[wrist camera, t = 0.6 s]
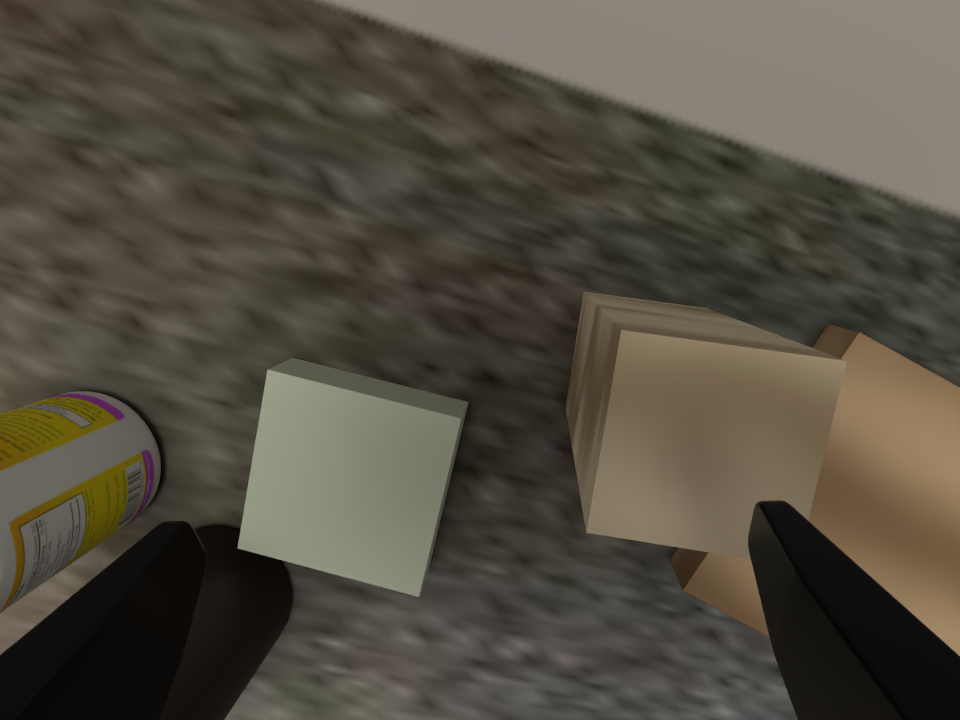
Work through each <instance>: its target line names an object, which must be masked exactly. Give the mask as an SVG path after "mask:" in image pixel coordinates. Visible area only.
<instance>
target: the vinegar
mask: <svg viewBox="0 0 960 720" xmlns="http://www.w3.org/2000/svg"><path fill="white" fill-rule="evenodd" d="M194 531H195V532H196V534H197V536H198V538H199V540H200V542H201V543H202V545H203V547H204V549H205V551H206V555H207V567H206V571H205V575H204V579H203V583H202V587H201V591H200V595H199V599H198V602H197V606H196V610H195V614H194V618H193V622H192V626H191V630H190V634H189V637H188V641H187V645H186V648H185V652H184V655H183V658H182V661H181V664H180V667H179V670H178V673H177V675H176V678H175V681H174V684H173V686H172V689H171V692H170V694H169V697H168V700H167V703H166V705H165V708H164V711H163V713H162V716H161V719H160V720H224V719H225V718H226V716H227V715H228V713H229V712H230V710H231V709H232V707H233V706H234V704H235V703H236V701H237V700H238V698H239V696H240V695H241V693H242V692H243V690H244V689H245V687H246V686H247V684H248V683H249V681H250V680H251V678H252V677H253V675H254V674H255V672H256V671H257V669H258V668H259V666H260V665H261V663H262V662H263V660H264V659H265V657H266V656H267V654H268V653H269V651H270V650H271V648H272V647H273V645H274V644H275V642H276V641H277V639H278V637H279V636H280V634H281V632H282V630H283V629H284V627H285V625H286V623H287V621H288V615H289V610H290V604H291V595H290V589H289V583H288V578H287V576H286V574H285V572H284V570H283V568H282V566H281V564H280V563H279V561H278V559H275V558H272V557H268V556H264V555H260V554H257V553H253V552H249V551H245V550H242V549H238V542H239V536H240V531H237V530H233V529H229V528H225V527H210V528H199V529H196V530H194Z"/></svg>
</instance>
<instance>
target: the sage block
mask: <svg viewBox="0 0 960 720" xmlns="http://www.w3.org/2000/svg"><path fill="white" fill-rule="evenodd" d="M468 403H469V402H466V401H462V400H458V399H454V398H450V397H446V396H442V395H438V394H434V393H431V392H427V391H423V390H419V389H415V388H411V387H407V386H403V385H399V384H395V383H391V382H387V381H383V380H379V379H375V378H371V377H367V376H363V375H359V374H355V373H351V372H347V371H343V370H339V369H335V368H331V367H327V366H323V365H319V364H315V363H311V362H307V361H303V360H299V359H295V358H291V359H289V360H287V361H285V362H283V363H281V364H279V365H276V366H274V367H272V368H270V369H268V370H267V376H266V382H265V388H264V394H263V400H262V406H261V412H260V418H259V424H258V430H257V435H256V441H255V447H254V453H253V459H252V465H251V471H250V477H249V483H248V489H247V495H246V501H245V507H244V512H243V518H242V524H241V530H240V536H239V542H238V549H242V550H245V551H249V552H253V553H257V554H260V555H264V556H268V557H272V558H275V559H279V560H283V561H286V562H290V563H294V564H298V565H301V566H305V567H309V568H313V569H316V570H320V571H324V572H327V573H331V574H335V575H339V576H342V577H346V578H350V579H354V580H357V581H361V582H365V583H369V584H372V585H376V586H380V587H383V588H387V589H391V590H395V591H398V592H402V593H406V594H410V595H413V596H417V597H419V595H420V593H421V590H422V587H423V584H424V581H425V578H426V575H427V572H428V569H429V566H430V562H431V558H432V554H433V549H434V545H435V541H436V537H437V533H438V528H439V524H440V520H441V516H442V512H443V508H444V503H445V499H446V495H447V491H448V487H449V482H450V478H451V474H452V470H453V466H454V461H455V457H456V453H457V449H458V445H459V440H460V436H461V432H462V428H463V424H464V419H465V415H466V411H467V407H468Z"/></svg>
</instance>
